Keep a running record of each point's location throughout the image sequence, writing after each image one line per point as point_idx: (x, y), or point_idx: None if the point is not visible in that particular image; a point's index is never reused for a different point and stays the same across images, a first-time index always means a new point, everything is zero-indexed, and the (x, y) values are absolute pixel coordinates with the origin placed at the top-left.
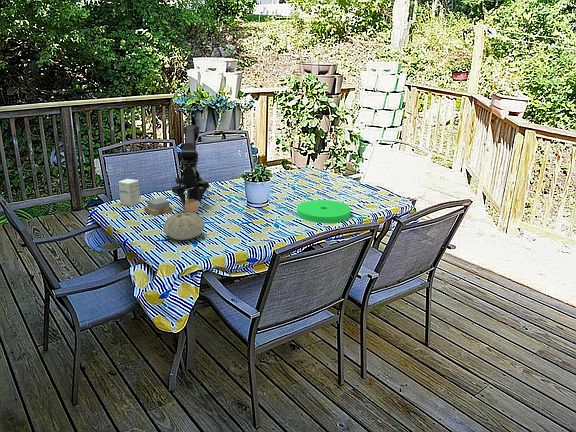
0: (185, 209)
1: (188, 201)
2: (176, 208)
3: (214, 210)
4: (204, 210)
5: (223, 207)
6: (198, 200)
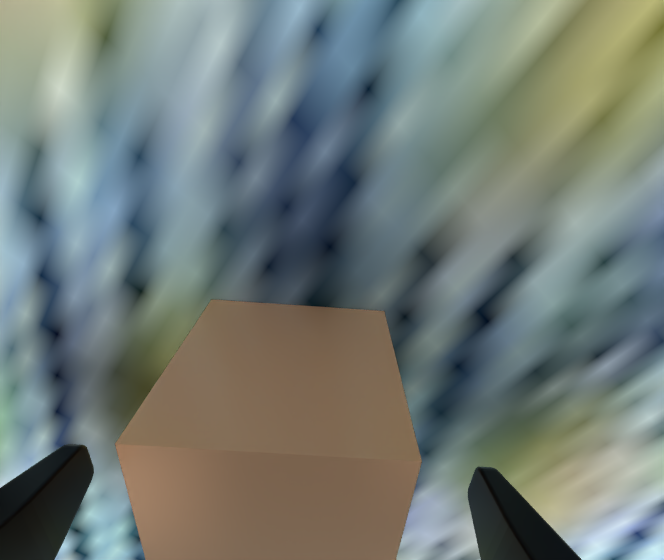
0: (210, 313)
1: (173, 541)
2: (97, 120)
3: None
4: None
5: (636, 532)
6: (485, 492)
